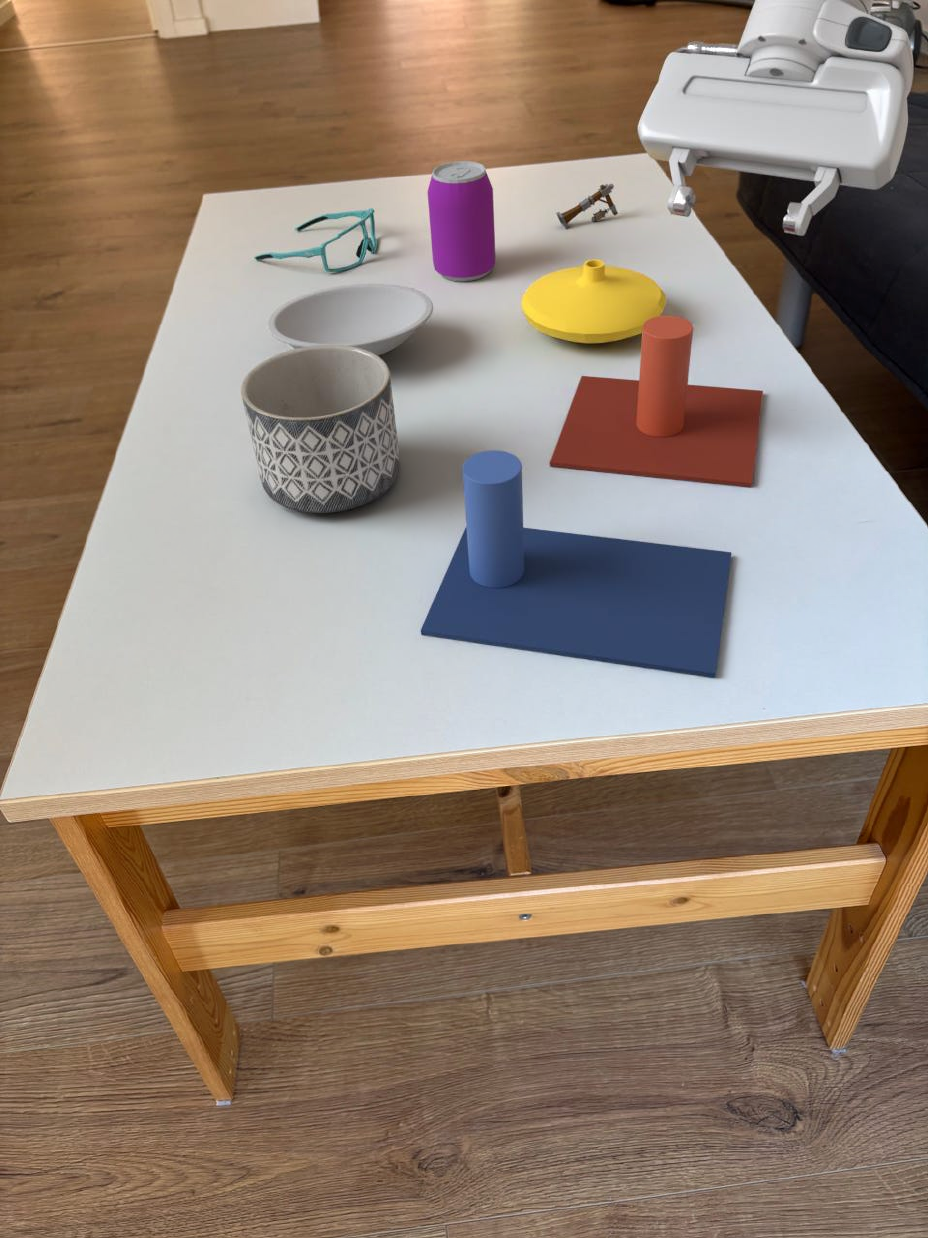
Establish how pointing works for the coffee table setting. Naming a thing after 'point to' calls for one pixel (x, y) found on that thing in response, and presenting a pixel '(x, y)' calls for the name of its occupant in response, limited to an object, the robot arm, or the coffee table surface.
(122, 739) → the coffee table surface
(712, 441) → the red mat
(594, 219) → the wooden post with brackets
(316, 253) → the sunglasses
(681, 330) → the red peg
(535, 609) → the blue mat
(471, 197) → the beverage can
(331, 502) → the planter
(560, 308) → the vase
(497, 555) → the blue peg
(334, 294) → the dish
